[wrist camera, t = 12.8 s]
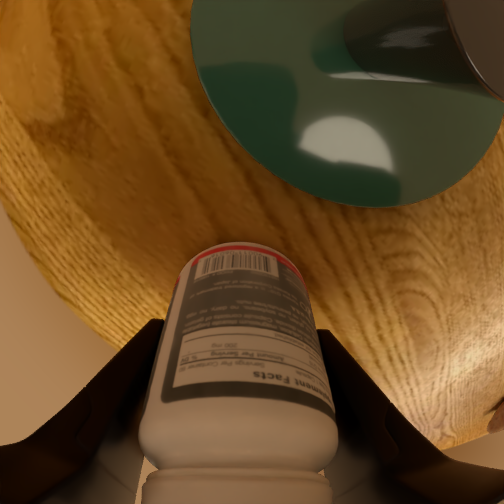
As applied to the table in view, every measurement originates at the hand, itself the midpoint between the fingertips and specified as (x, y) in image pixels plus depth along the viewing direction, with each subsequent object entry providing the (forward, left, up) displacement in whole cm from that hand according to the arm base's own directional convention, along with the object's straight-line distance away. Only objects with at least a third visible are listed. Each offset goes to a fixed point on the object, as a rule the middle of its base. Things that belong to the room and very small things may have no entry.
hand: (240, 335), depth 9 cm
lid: (+3, +9, -2) cm, 10 cm away
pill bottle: (0, 0, -2) cm, 2 cm away
